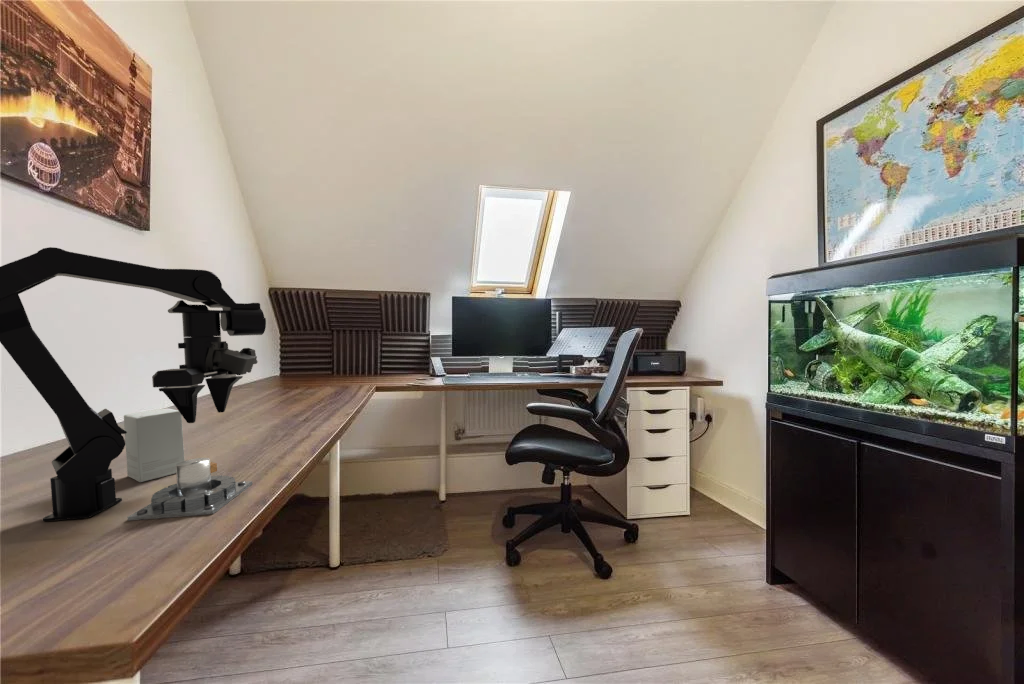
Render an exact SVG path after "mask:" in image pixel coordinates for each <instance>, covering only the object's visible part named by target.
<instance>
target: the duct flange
mask: <svg viewBox="0 0 1024 684" xmlns="http://www.w3.org/2000/svg"><path fill="white" fill-rule="evenodd" d="M252 485H253V480H251V481H250V480H247V481H245V480H241V481H236V478H235V477H234V476H230V475H211V487H212V490H209V491H206V492H204V493H200V494H195V495H190V496H182V497H178V491H177V483H174V484H171V485H168V486H167V487H164V488H162V489H161V488H160V490H158V491H156V492H154V493H153V494H152V495H151V500H150V503H149V504H147V505H145V506H144V507H142V508H141V509H139V510H137V511H135V512H134V513H131V514H130V515H128V516H127V518H126V519H127V521H140V520H152V519H155V520H156V519H166V518H168V519H169V518H181V517H182V518H183V517H193V516H204V515H205V516H207V515H214V514H215V513H217V512H218V511H219V510H220V509H222V508H223V507H225V506H226V505H227V504H228V503H230V502H231V501H232V500H233V499H235V498H237V496H239V495H240V494H241V493H243V492H244V491H245V490H247V489H248V488H249V487H251V486H252Z"/></svg>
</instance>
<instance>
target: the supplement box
mask: <svg viewBox="0 0 1024 684" xmlns="http://www.w3.org/2000/svg"><path fill="white" fill-rule="evenodd" d="M182 418H183V416H182V415H181V413H180V412H179V411H178V409H173V408H169V407H167V408H159V409H153V410H146V411H139V412H135V413H128V414H124V415H123V427H124V428H123V430H125V431H126V432H127V433H126V434H124V440H125V457H126V459H125V460H126V472H127V477H128V478H131V479H133V480H135V481H136V482H139V483H143V482H147V481H151V480H155V479H159V478H163V477H167V476H170V475H171V476H172V475H174V474H176V464H178V463H180V462H183V461H185V450H184V435H183V432H184V431H183V419H182Z"/></svg>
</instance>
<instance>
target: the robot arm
mask: <svg viewBox="0 0 1024 684" xmlns="http://www.w3.org/2000/svg"><path fill="white" fill-rule="evenodd" d="M56 277H68V278H73V279H74V278H75V279H81V280H88V281H95V282H101V283H108V284H113V285H119V286H120V285H121V286H126V287H134V288H140V289H146V290H152V291H156V292H159V293H161V294H165V295H168V296H170V297H174V298H178V299H180V300H178V301H176V302H175V304H174V305H173V306H172V307H170V308H169V309H167V313H169V314H181V316H182V335H183V342H177V348H178V349H183V350H184V354H183V355H184V364H179V368H169V369H162V370H157V371H156V372H155V373H154V374H153V375H152V379H151V380H152V388H158V391H159V392H162V393H164V394H165V396H166V397H167V398H168V399H169V400H170V402H171V403H172V404H173V405H174V407H176V410H178V411H179V412H180V413H181V415H182V418H183V419H184V420H185V422H186V423H187V424H195V422H196V419H197V408H198V407H197V406H198V404H197V403H198V394H199V393H200V392H201V391H202V390H203V388H204V387H205V386H206V385H207V387H208V390H209V392H210V396H211V399H212V402H213V404H214V407H215V409H216V411H217V413H224V412H225V411H226V408H227V404H228V403H229V398H230V395H231V392H232V389H233V387H234V385H235V384H236V383H237V382H239V380H241V379H243V377H244V376H243V375H246V374H247V373H251V372H252V369H253V367H254V365H256V364H258V362H259V361H258V359H257V358H258V356H257V354H256V349H253V348H251V347H244V348H242V349H241V350H240V351H239V350H233V349H230V348H229V343H228V342H227V341H226V340H224V341H222V333H221V330H222V331H223V332H227V334H228V335H229V336H230V337H236V336H237V337H238V336H241V337H243V336H262V335H263V334H265V332H266V331H265V330H266V327H267V320H266V319H267V318H266V317H265V315H264V312H263V310H262V308H261V304H260V302H250V303H249V302H248V303H236V301H234V299H233V298H232V297H231V296H230V295H229V294H228V293H227V292H226V291H225V290H224V288H223V285H222V282H221V279H220V278H219V277H218V276H217V275H216V273H214V272H212V271H209V270H206V269H194V268H193V269H190V268H158V267H153V266H148V265H142V264H139V263H138V264H137V263H131V262H127V261H120V260H116V259H110V258H105V257H99V256H94V255H89V254H83V253H79V252H73V251H72V252H71V251H67V250H64V249H62V248H59V247H54V246H53V247H51V246H50V247H45V248H42V249H40V250H38V251H37V252H35V253H33V254H30V255H28V256H25V257H22V258H20V259H17V260H14V261H11V262H8V263H6V264H3V265H1V266H0V344H1V345H2V346H3V348H4V349H5V351H6V352H7V353H8V354H9V356H11V358H12V360H13V361H14V362H15V363H16V365H17V366H18V368H20V370H21V372H23V374H24V375H25V377H26V378H27V379H28V381H30V382H31V384H32V385H33V386H34V388H35V390H36V391H38V393H39V394H40V396H41V397H42V399H43V400H44V401H45V403H46V404H47V405H48V406H49V408H50V409H51V410H52V411H53V413H54V414H55V416H56V417H57V420H58V421H59V424H60V427H61V429H62V431H63V434H64V437H65V439H66V441H67V444H68V447H66V449H64V450H63V451H62V452H61V453H59V454H58V455H57V456H56V457H55V458H54V459H52V461H51V465H52V467H53V469H54V471H55V474H56V475H55V476H53V477H51V478H50V492H51V494H50V495H51V502H52V503H51V505H52V506H51V508H52V513H51V514H48V515H45V516H44V517H42V522H52V521H64V520H65V521H66V520H75V519H76V520H77V519H87V518H91V517H93V516H95V515H97V514H98V513H101V512H102V511H104V510H107V509H108V508H111V507H112V506H115V505H116V504H119V503H120V502H122V500H123V499H122V497H117V495H116V480H115V478H114V477H113V471H112V469H113V468H110V466H111V463H112V461H114V460H115V459H117V458H119V456H120V455H121V454H122V452H123V451H124V449H125V448H126V445H125V436H123V435H125V434H126V433H127V432H126V431H125V430H124V428H123V427H121V426H119V425H118V423H117V420H116V418H115V415H114V413H113V412H112V411H111V410H109V409H107V408H104V409H102V410H100V411H99V412H97V411H95V410H94V409H93V408H92V407H91V406H89V404H88V402H86V399H84V398H83V395H81V393H80V392H79V390H78V389H77V388H76V386H75V385H74V383H72V381H71V379H70V378H69V377H68V375H67V374H66V373H65V371H64V370H63V369H62V367H61V366H60V365H59V363H58V362H57V360H56V359H55V357H53V355H52V354H51V352H50V350H48V348H47V347H46V346H45V344H44V342H43V341H42V340H41V338H40V337H39V335H38V334H37V333H36V332H35V330H34V329H33V328H32V327H33V326H32V324H31V323H30V320H29V317H28V314H27V312H26V309H25V307H24V305H23V302H22V300H21V298H20V294H22V293H24V292H27V291H28V290H29V291H30V290H31V289H32V288H35V287H37V286H39V285H40V284H44V283H45V282H47V281H49V280H51V279H54V278H56ZM184 300H185V301H187V302H190V303H191V302H192V303H201V304H188V303H187V302H185V301H184ZM209 308H211V309H209ZM213 308H214V309H215V308H216V309H215V310H214V309H213ZM212 309H213V310H212ZM218 309H219V310H218ZM220 309H221V310H220ZM204 380H205V383H206V384H203V382H204Z"/></svg>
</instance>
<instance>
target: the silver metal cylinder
mask: <svg viewBox="0 0 1024 684" xmlns="http://www.w3.org/2000/svg"><path fill="white" fill-rule="evenodd" d="M217 464H218V463H217V462H213V461H211V459H210V458H209V457H195V458H192V459H187V460H184V461H183V462H180V463H178V464H176V473H175V474H176V484H177V491H178V497H182V496H190V495H195V494H200V493H204V492H206V491H209V490H212V487H211V476H212V473H216V472H217V471H218V465H217Z"/></svg>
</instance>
